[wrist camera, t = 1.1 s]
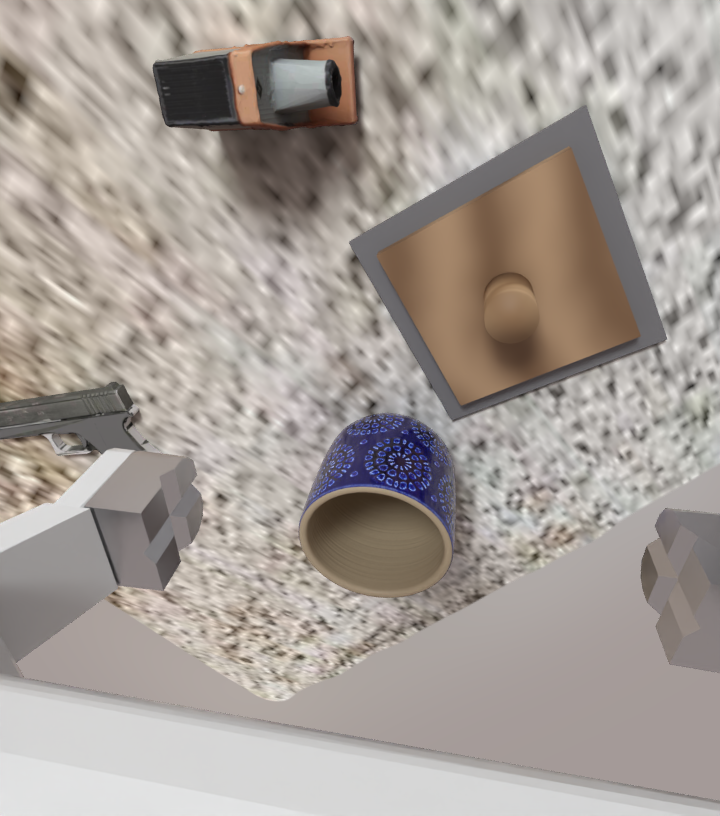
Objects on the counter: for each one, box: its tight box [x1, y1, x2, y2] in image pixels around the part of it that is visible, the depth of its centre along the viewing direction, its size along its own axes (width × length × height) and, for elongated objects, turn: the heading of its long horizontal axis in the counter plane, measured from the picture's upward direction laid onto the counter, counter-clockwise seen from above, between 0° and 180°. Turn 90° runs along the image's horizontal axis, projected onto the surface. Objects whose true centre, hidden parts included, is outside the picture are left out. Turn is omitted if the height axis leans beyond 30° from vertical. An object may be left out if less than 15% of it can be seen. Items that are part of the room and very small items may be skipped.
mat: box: [349, 105, 667, 420], centre depth 36 cm, size 16×16×1 cm
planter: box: [299, 413, 456, 598], centre depth 41 cm, size 11×11×11 cm
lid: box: [377, 146, 641, 406], centre depth 34 cm, size 13×13×5 cm
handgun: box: [0, 382, 163, 456], centre depth 52 cm, size 2×19×12 cm
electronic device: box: [153, 36, 358, 131], centre depth 29 cm, size 4×10×8 cm, turn 94°
